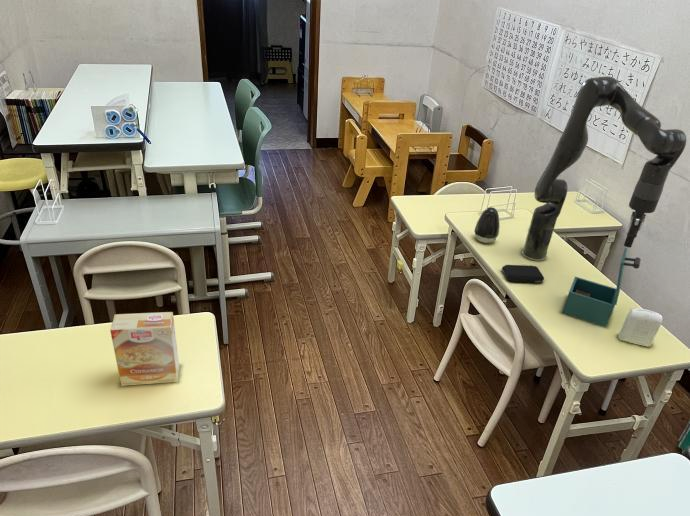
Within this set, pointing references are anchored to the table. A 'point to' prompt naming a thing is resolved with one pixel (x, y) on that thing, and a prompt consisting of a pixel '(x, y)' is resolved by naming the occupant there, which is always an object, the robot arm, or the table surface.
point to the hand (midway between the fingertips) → (628, 241)
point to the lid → (635, 265)
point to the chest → (590, 302)
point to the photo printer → (640, 327)
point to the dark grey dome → (487, 226)
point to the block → (583, 293)
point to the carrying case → (523, 273)
